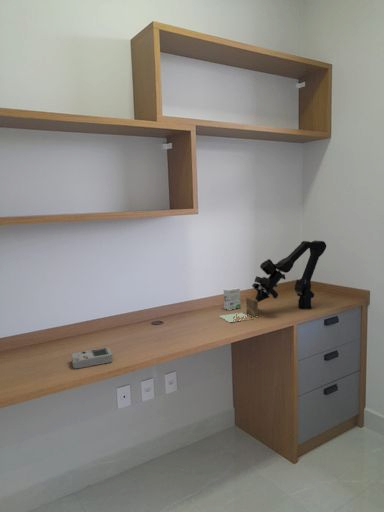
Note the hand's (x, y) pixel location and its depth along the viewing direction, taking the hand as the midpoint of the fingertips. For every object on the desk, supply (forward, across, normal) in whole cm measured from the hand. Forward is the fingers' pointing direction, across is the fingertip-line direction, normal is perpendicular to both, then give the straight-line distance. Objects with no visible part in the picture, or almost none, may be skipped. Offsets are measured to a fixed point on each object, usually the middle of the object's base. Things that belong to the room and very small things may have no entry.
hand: (255, 302), depth 204 cm
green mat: (+13, 0, -3) cm, 13 cm away
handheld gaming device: (+68, +28, -56) cm, 93 cm away
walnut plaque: (+6, 0, +4) cm, 7 cm away
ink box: (+8, -18, +2) cm, 20 cm away
